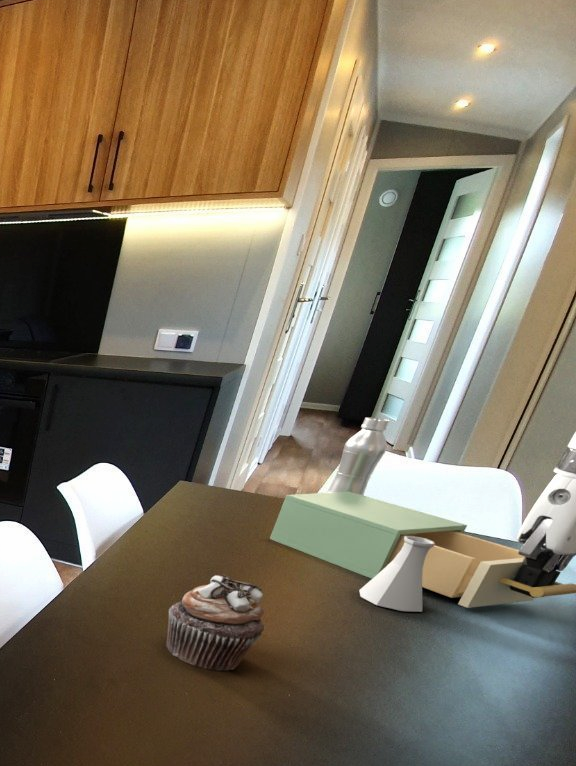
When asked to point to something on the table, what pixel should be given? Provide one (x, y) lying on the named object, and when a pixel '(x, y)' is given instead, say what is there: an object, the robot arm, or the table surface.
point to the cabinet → (351, 528)
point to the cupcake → (216, 623)
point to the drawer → (475, 570)
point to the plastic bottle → (361, 457)
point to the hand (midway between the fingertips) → (526, 593)
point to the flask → (400, 578)
